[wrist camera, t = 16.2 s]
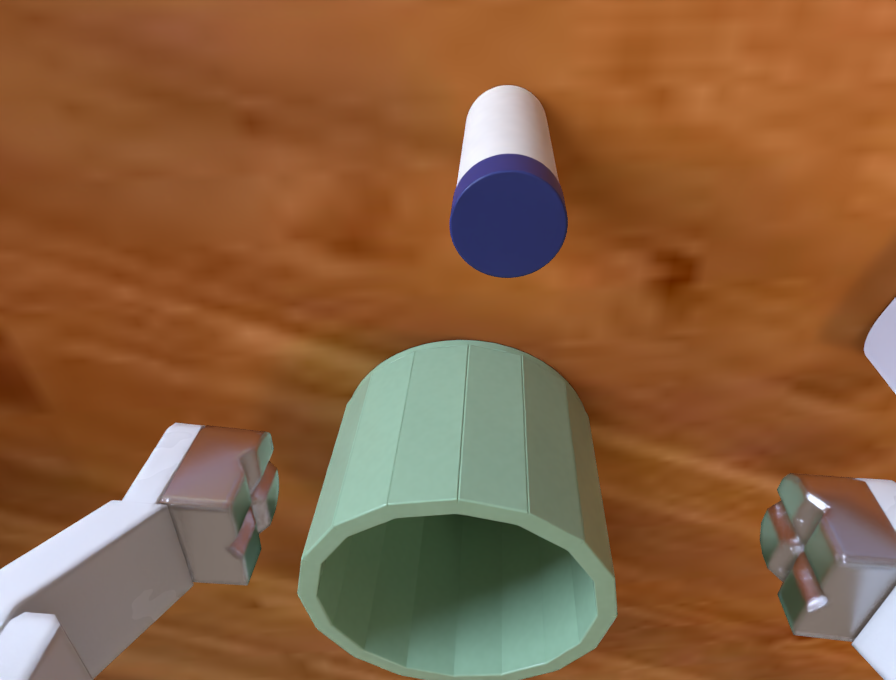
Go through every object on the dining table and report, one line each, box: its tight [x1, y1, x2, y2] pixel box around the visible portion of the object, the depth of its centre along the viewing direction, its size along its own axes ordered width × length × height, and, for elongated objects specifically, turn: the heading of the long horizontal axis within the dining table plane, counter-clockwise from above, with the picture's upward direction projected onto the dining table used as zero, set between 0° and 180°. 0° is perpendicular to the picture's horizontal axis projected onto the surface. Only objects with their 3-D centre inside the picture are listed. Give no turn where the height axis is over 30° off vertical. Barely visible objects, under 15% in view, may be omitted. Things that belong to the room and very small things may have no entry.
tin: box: [297, 340, 618, 680], centre depth 29 cm, size 13×13×10 cm
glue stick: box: [450, 85, 568, 278], centre depth 20 cm, size 3×3×8 cm
